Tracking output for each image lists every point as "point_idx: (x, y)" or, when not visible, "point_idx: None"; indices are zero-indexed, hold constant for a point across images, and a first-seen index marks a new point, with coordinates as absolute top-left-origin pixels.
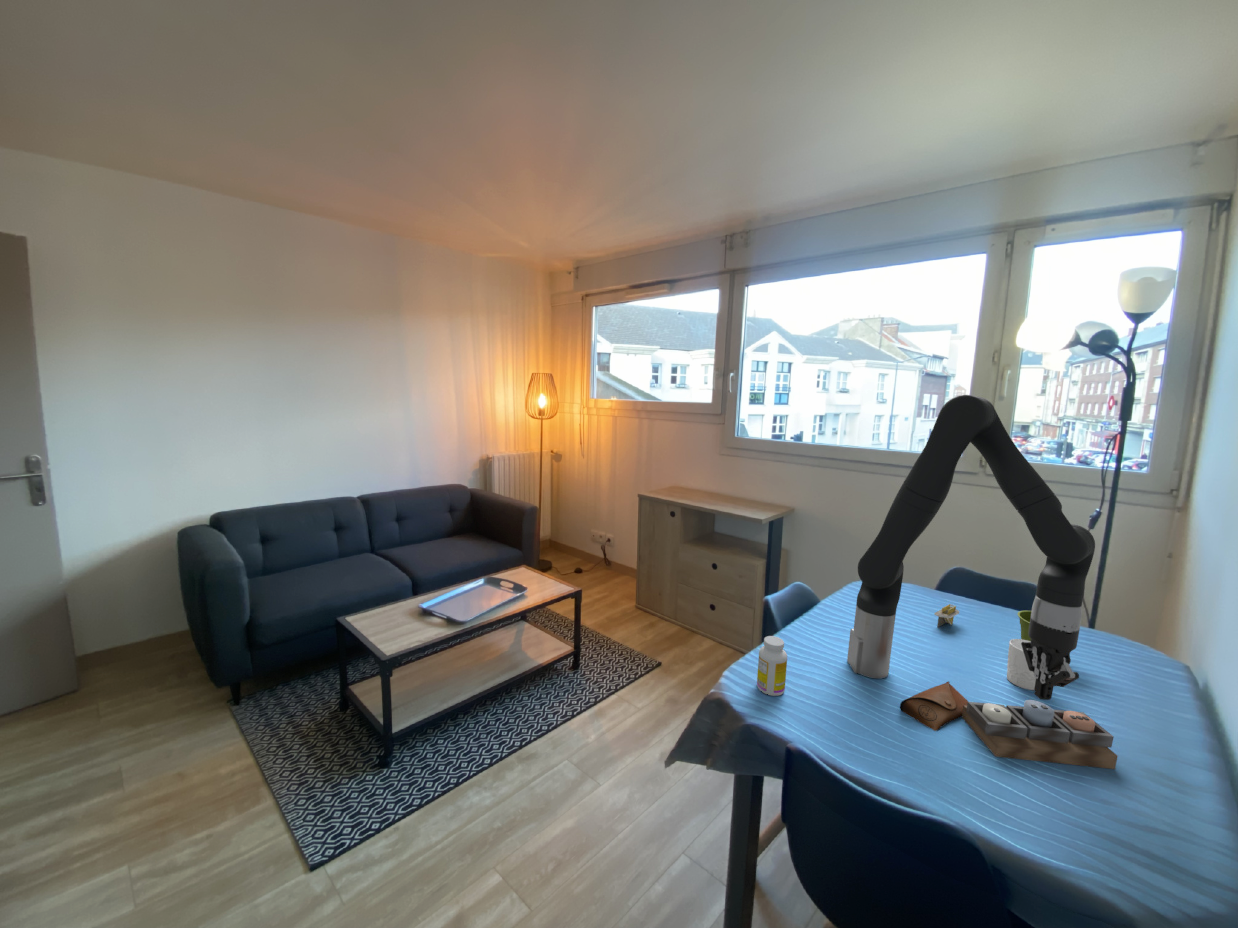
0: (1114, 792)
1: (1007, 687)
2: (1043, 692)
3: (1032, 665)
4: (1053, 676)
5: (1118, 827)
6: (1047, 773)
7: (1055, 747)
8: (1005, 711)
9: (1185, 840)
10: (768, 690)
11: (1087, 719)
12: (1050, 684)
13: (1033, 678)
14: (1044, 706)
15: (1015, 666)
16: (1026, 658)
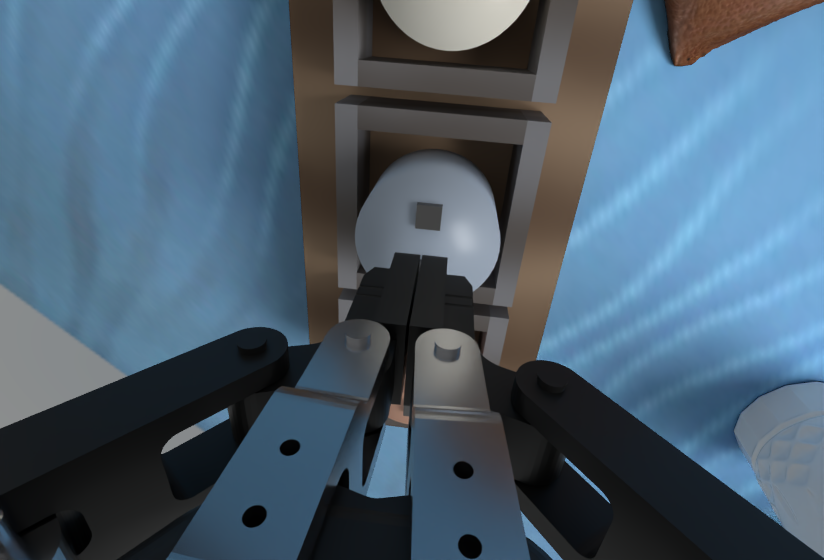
0: (214, 252)
1: (789, 343)
2: (372, 289)
3: (543, 420)
4: (138, 421)
5: (43, 132)
6: (247, 79)
7: (312, 184)
8: (448, 21)
9: (79, 283)
10: None
11: (403, 407)
12: (232, 339)
13: (771, 456)
14: None
15: None
16: (672, 460)
